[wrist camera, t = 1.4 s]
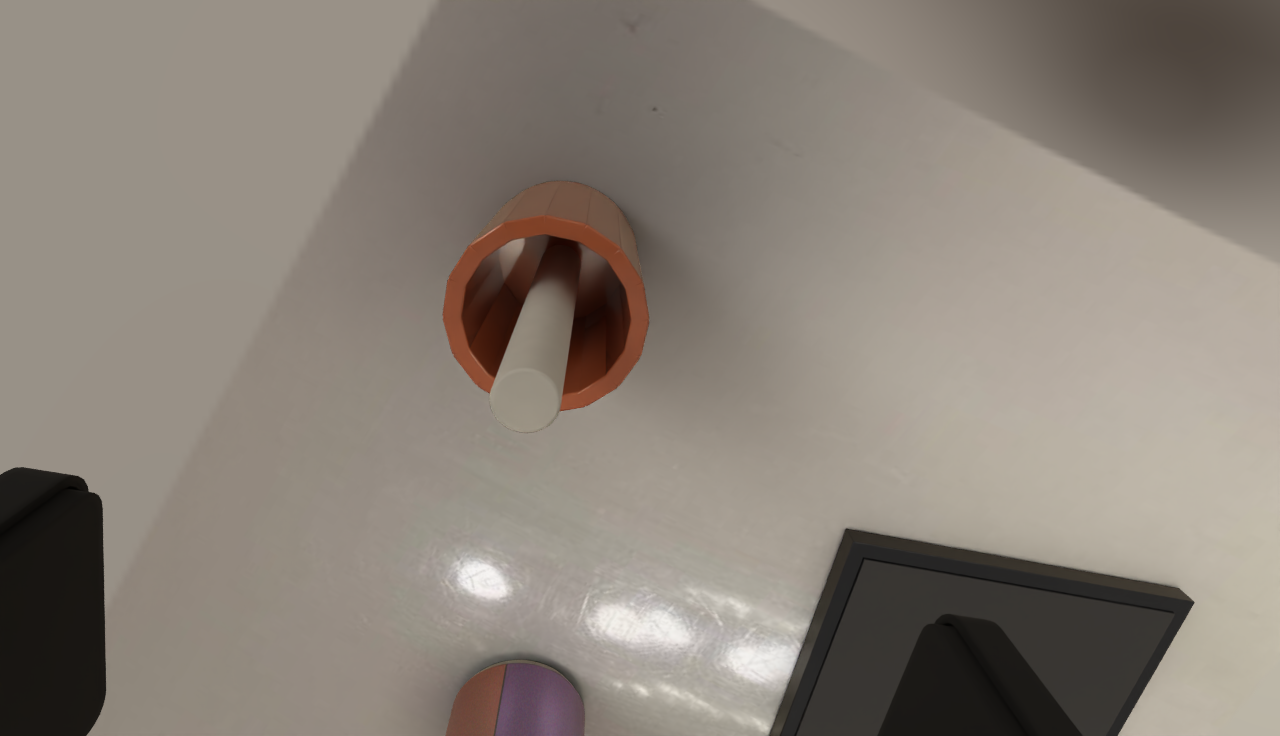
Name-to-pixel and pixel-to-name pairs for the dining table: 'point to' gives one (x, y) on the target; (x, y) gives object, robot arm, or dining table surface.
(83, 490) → the robot arm
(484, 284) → the pen cup
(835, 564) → the tablet
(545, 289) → the stylus
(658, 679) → the dining table surface
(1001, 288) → the dining table surface
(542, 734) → the beverage can
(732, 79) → the dining table surface
